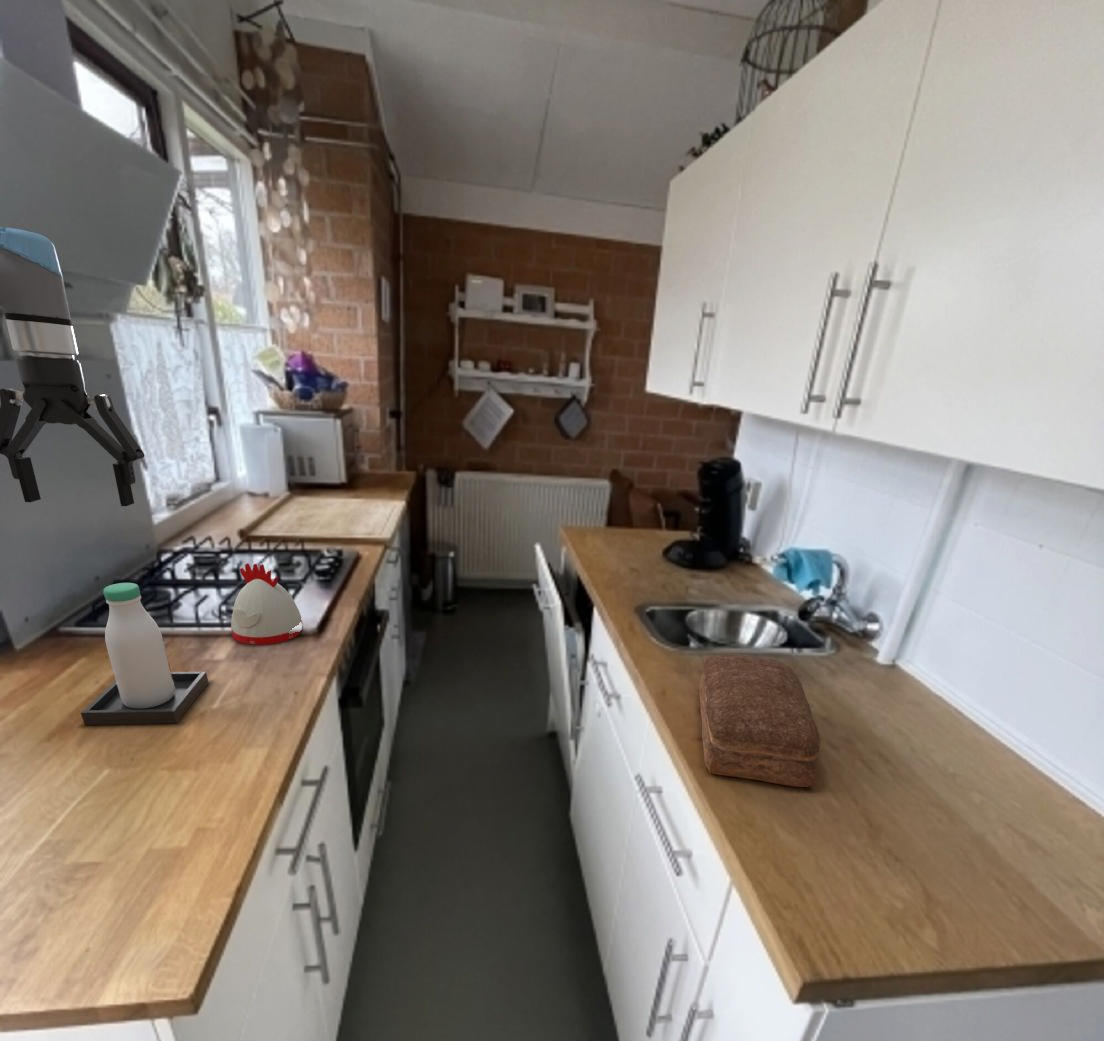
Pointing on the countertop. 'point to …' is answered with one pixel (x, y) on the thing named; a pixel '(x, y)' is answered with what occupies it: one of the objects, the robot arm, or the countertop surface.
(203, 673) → the dock tray
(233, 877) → the countertop surface
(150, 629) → the milk bottle
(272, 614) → the kitchen timer
